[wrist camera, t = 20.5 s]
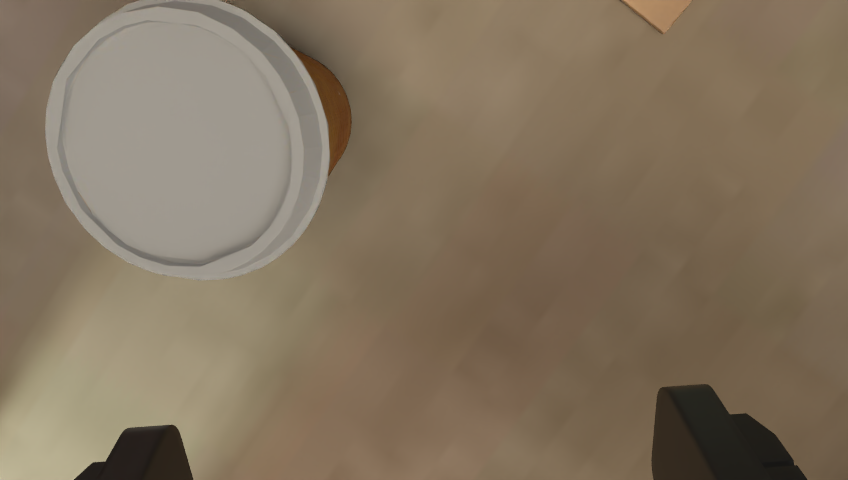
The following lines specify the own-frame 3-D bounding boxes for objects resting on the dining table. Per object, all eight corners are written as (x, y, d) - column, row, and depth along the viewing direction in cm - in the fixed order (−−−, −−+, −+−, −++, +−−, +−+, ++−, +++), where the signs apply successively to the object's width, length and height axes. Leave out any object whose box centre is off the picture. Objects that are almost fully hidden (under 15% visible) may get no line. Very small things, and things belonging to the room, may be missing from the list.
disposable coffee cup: (283, -29, 31) (154, -83, 20) (425, 123, 32) (381, 157, 21) (156, 114, 34) (-25, 141, 22) (292, 252, 35) (186, 346, 23)
